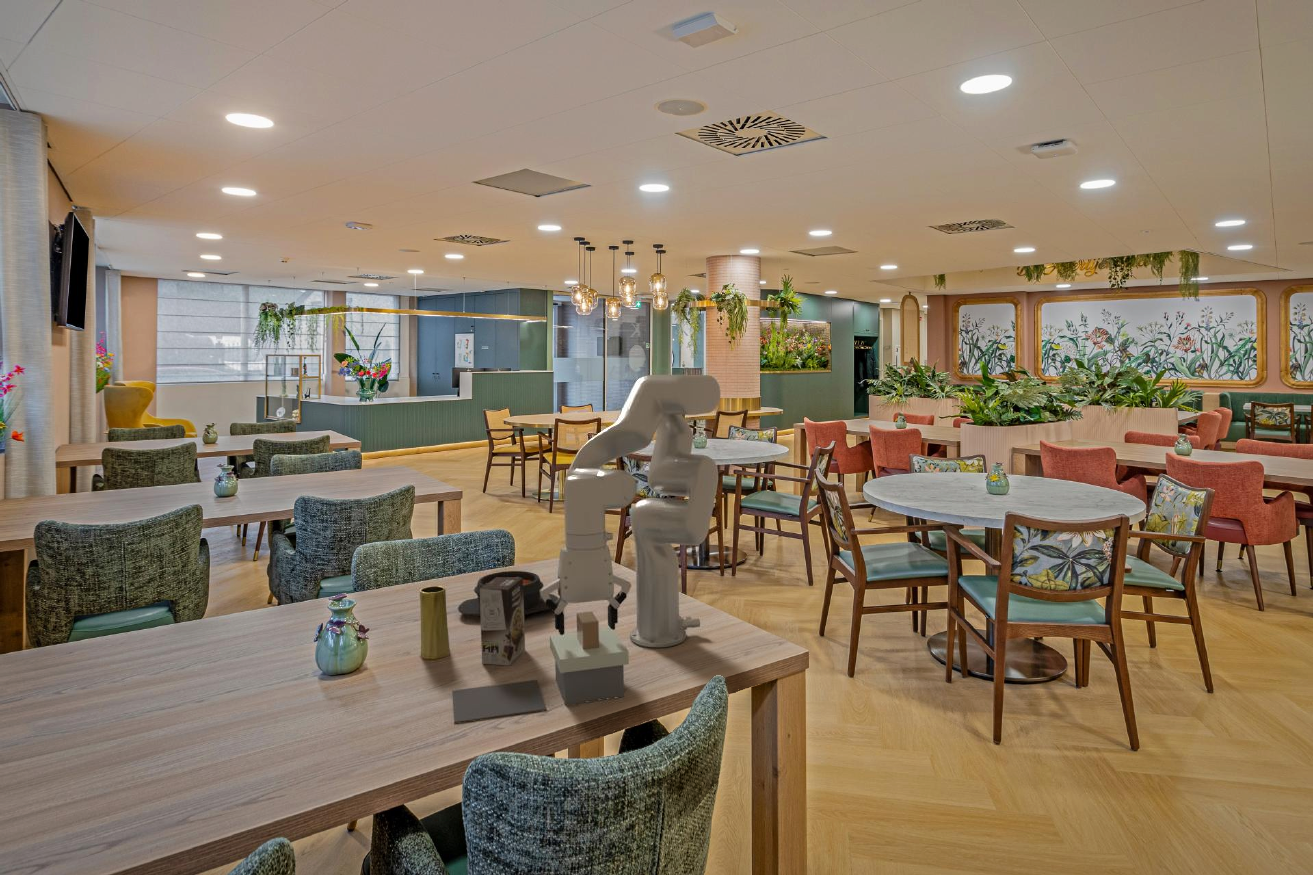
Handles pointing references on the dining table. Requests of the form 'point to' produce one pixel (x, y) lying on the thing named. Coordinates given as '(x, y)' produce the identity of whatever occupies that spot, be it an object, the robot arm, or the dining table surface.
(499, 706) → the mat
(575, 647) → the lid
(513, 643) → the coffee box
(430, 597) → the vase
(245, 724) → the dining table surface
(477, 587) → the casserole
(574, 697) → the storage box
